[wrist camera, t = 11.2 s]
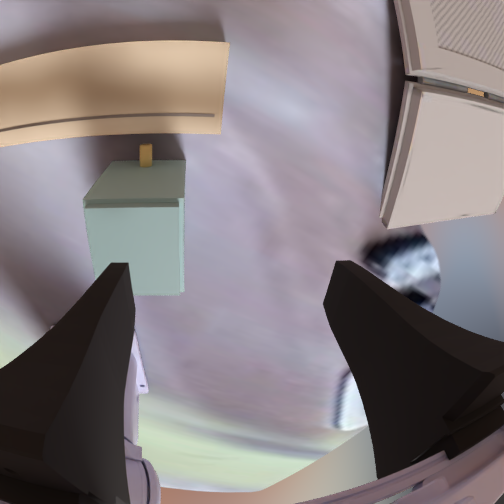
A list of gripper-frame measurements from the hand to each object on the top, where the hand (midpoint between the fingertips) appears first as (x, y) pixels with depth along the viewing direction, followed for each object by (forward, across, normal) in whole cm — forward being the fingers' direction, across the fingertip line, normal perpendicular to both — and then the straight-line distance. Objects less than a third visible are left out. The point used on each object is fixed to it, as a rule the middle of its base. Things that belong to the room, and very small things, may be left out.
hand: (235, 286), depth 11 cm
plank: (+10, +11, -6) cm, 16 cm away
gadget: (+11, -18, -10) cm, 23 cm away
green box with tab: (+10, +4, +1) cm, 11 cm away
